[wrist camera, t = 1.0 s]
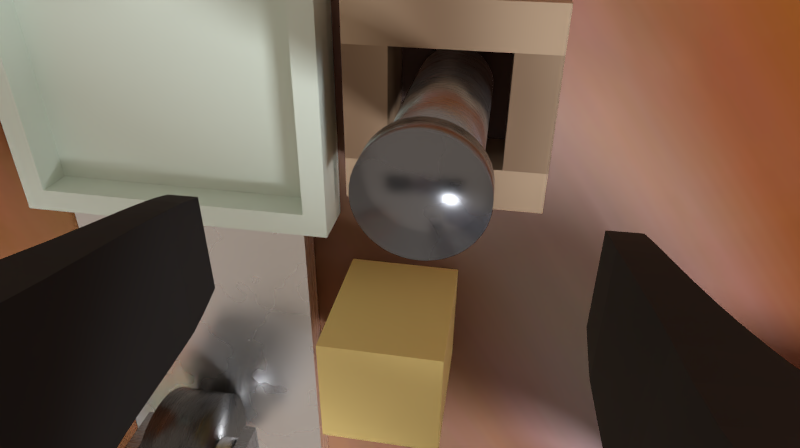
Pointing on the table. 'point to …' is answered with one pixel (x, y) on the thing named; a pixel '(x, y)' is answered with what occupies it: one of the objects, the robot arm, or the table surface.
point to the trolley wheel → (244, 352)
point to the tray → (175, 107)
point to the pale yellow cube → (388, 354)
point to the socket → (474, 31)
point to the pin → (430, 163)
